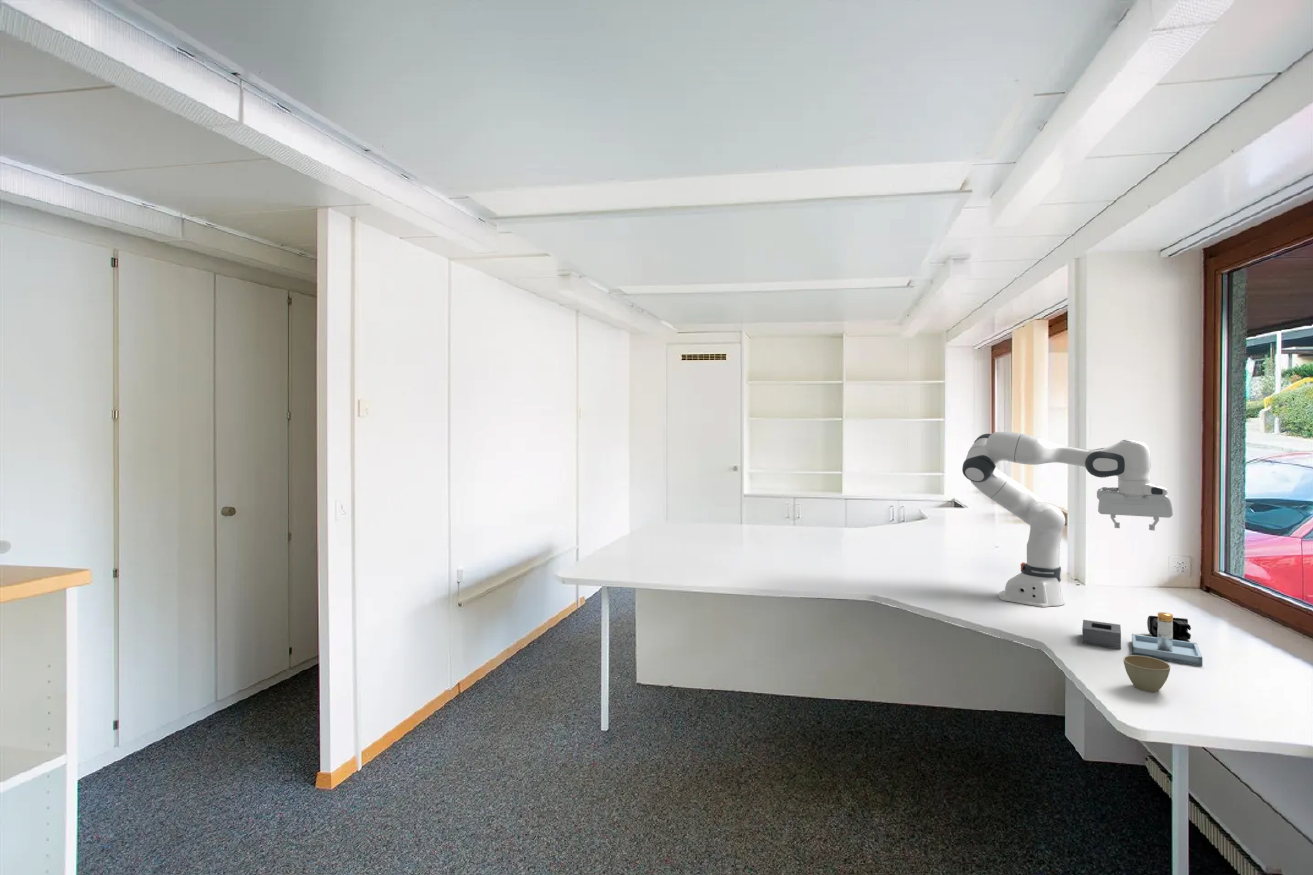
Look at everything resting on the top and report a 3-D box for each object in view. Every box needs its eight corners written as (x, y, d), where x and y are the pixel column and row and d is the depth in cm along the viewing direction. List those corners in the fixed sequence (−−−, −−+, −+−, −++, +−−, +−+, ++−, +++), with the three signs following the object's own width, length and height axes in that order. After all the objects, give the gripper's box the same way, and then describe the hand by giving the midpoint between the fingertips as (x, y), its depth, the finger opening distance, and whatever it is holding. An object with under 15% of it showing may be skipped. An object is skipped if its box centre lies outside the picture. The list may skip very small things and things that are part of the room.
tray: (1133, 655, 195) (1133, 647, 194) (1131, 641, 206) (1131, 633, 206) (1202, 666, 185) (1202, 657, 185) (1196, 651, 197) (1196, 643, 197)
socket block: (1082, 643, 205) (1082, 627, 205) (1083, 634, 213) (1083, 619, 213) (1120, 649, 200) (1120, 633, 199) (1120, 639, 208) (1120, 624, 208)
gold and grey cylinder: (1157, 650, 195) (1158, 614, 195) (1157, 646, 198) (1157, 611, 198) (1173, 652, 193) (1173, 616, 193) (1172, 649, 196) (1172, 613, 196)
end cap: (1184, 636, 210) (1184, 616, 210) (1192, 643, 203) (1192, 622, 203) (1147, 633, 214) (1147, 613, 214) (1153, 640, 207) (1153, 619, 207)
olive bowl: (1113, 681, 176) (1113, 656, 176) (1147, 679, 177) (1147, 654, 176) (1144, 697, 166) (1144, 670, 166) (1180, 695, 167) (1180, 668, 167)
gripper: (1096, 487, 220) (1096, 528, 220) (1173, 490, 208) (1173, 532, 208) (1096, 486, 225) (1096, 525, 225) (1171, 488, 213) (1171, 530, 214)
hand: (1134, 529), depth 217 cm, fingers open, 8 cm apart
